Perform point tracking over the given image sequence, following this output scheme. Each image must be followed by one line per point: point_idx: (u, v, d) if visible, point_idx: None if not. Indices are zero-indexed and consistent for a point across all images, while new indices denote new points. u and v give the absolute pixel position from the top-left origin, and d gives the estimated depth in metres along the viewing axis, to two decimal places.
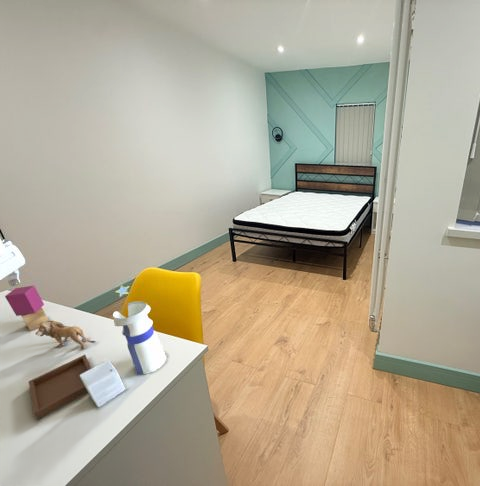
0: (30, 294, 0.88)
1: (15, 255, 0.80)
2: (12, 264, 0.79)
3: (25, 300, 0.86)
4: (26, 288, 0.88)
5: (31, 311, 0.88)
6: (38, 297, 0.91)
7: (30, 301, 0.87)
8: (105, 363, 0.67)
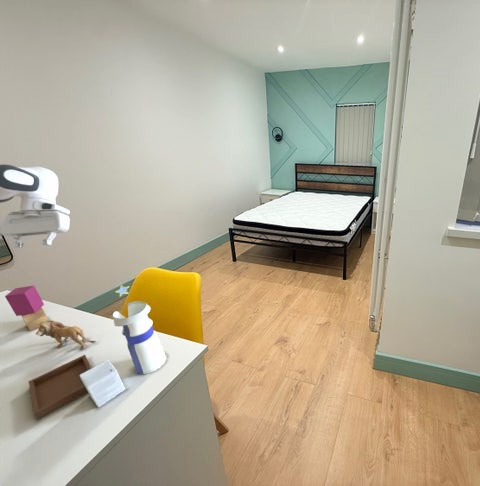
0: (30, 294, 0.88)
1: None
2: None
3: (25, 300, 0.86)
4: (26, 288, 0.88)
5: (31, 311, 0.88)
6: (38, 297, 0.91)
7: (30, 301, 0.87)
8: (105, 363, 0.67)
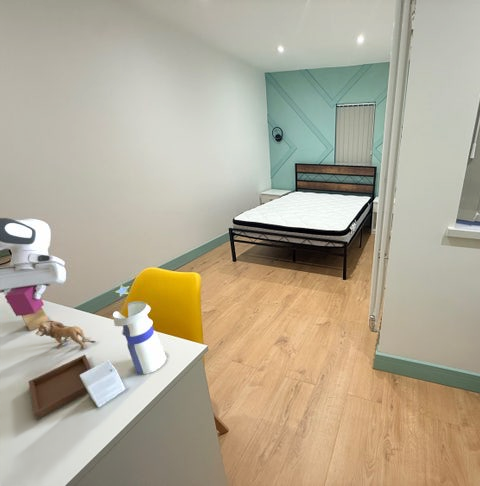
0: (30, 294, 0.88)
1: None
2: None
3: (25, 300, 0.86)
4: (26, 288, 0.88)
5: (31, 311, 0.88)
6: None
7: (30, 301, 0.87)
8: (105, 363, 0.67)
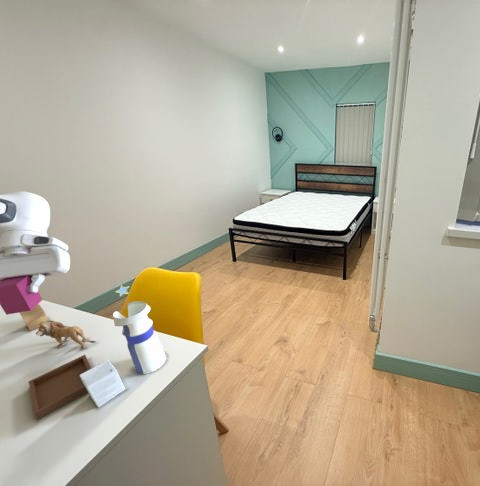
0: (24, 286, 0.68)
1: None
2: None
3: (18, 293, 0.66)
4: (19, 278, 0.68)
5: (26, 308, 0.68)
6: None
7: (24, 295, 0.67)
8: (105, 363, 0.67)
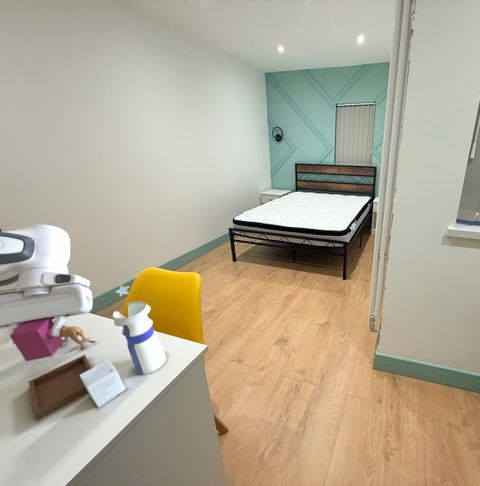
0: (46, 331, 0.62)
1: None
2: None
3: (39, 339, 0.61)
4: (39, 322, 0.63)
5: (47, 354, 0.63)
6: None
7: (45, 340, 0.62)
8: (105, 363, 0.67)
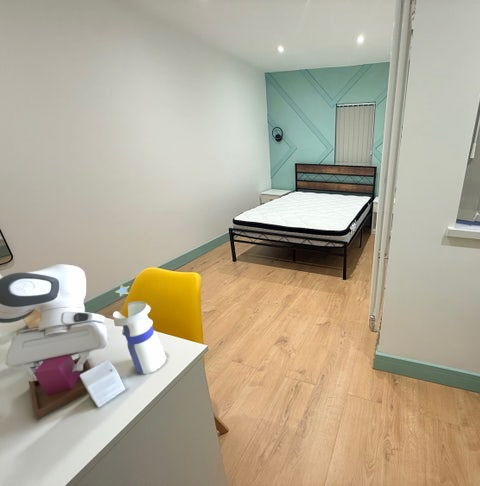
0: (66, 366, 0.67)
1: None
2: None
3: (60, 375, 0.66)
4: (60, 358, 0.67)
5: (67, 388, 0.67)
6: None
7: (65, 376, 0.67)
8: (105, 363, 0.67)
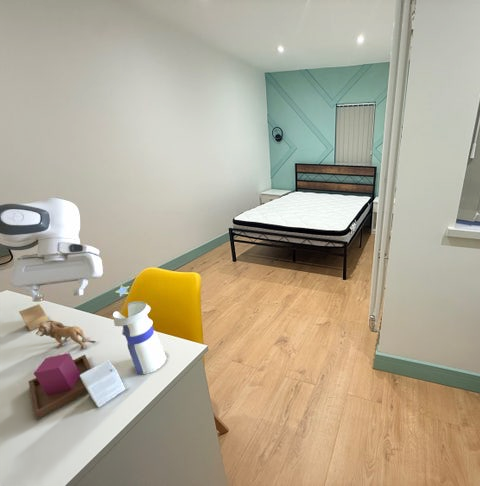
0: (66, 366, 0.67)
1: None
2: None
3: (60, 375, 0.66)
4: (60, 358, 0.67)
5: (67, 388, 0.67)
6: (74, 367, 0.70)
7: (65, 376, 0.67)
8: (105, 363, 0.67)
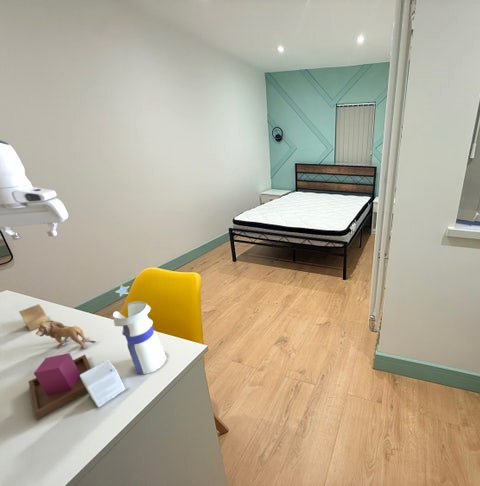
0: (66, 366, 0.67)
1: None
2: None
3: (60, 375, 0.66)
4: (60, 358, 0.67)
5: (67, 388, 0.67)
6: (74, 367, 0.70)
7: (65, 376, 0.67)
8: (105, 363, 0.67)
